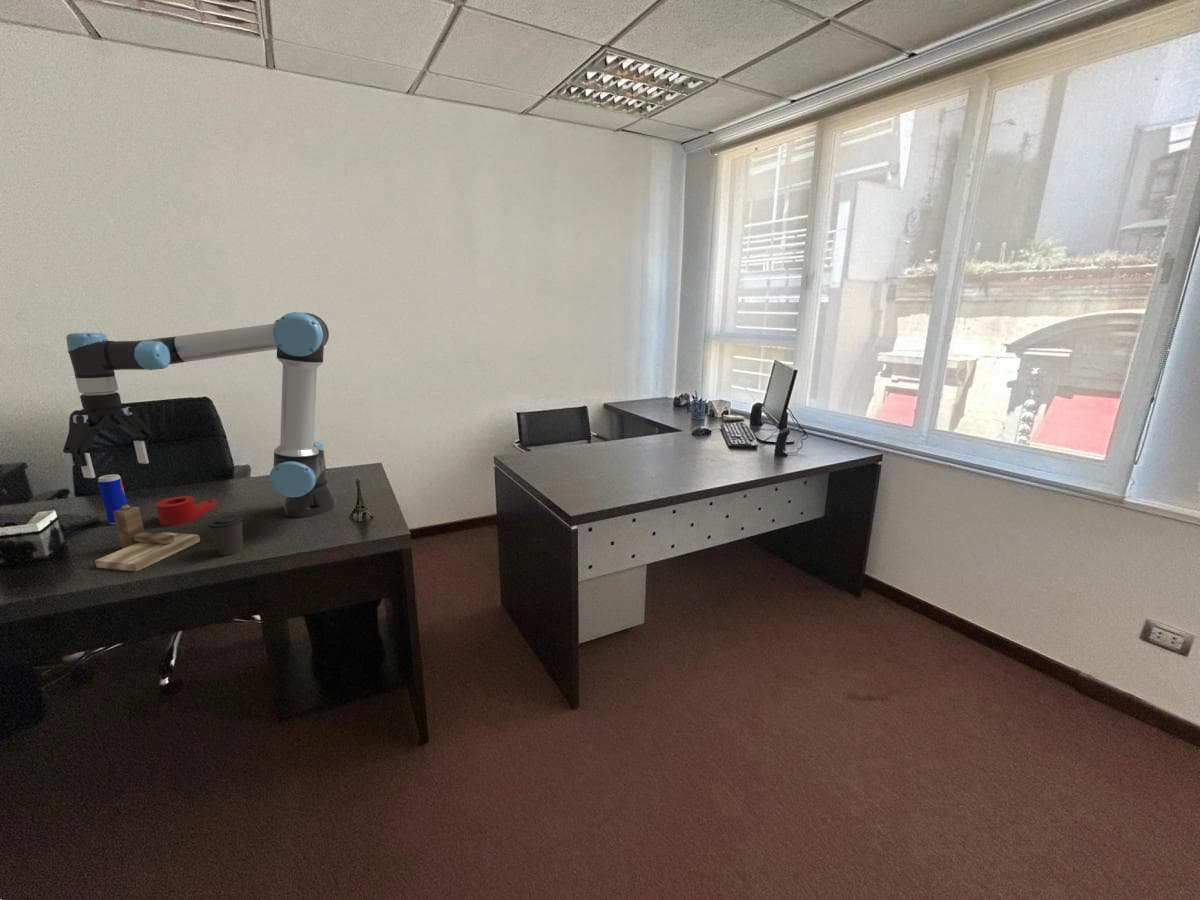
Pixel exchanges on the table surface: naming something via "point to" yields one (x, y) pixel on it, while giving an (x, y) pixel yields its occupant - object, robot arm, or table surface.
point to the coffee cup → (227, 534)
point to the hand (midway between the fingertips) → (117, 469)
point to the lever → (181, 510)
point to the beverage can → (112, 494)
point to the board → (146, 553)
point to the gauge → (135, 528)
